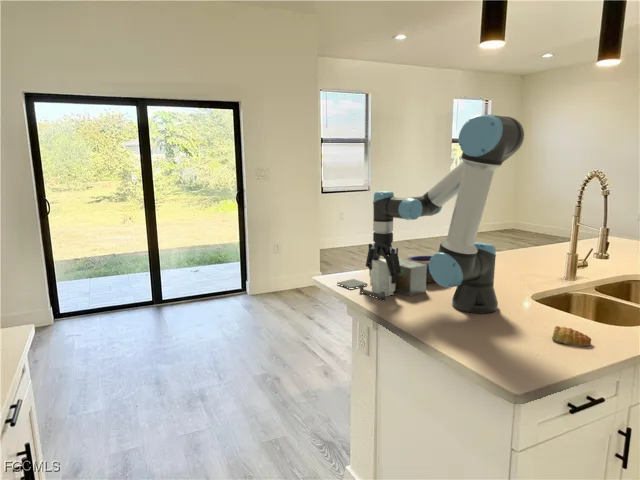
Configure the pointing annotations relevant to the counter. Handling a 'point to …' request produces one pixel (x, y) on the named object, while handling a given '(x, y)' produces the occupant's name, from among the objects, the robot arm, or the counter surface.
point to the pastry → (570, 337)
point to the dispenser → (406, 279)
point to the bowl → (423, 261)
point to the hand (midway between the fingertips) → (382, 288)
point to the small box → (380, 277)
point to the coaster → (352, 283)
